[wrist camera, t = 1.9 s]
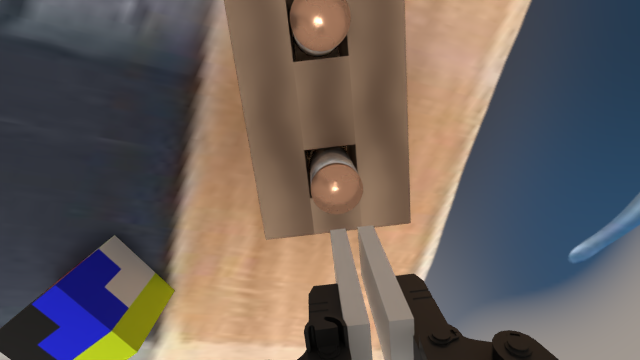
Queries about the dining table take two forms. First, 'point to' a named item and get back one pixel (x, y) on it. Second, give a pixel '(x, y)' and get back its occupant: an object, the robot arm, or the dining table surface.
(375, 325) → the robot arm
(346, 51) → the socket block
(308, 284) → the dining table surface
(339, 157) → the peg
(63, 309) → the puzzle toy
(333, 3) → the peg
